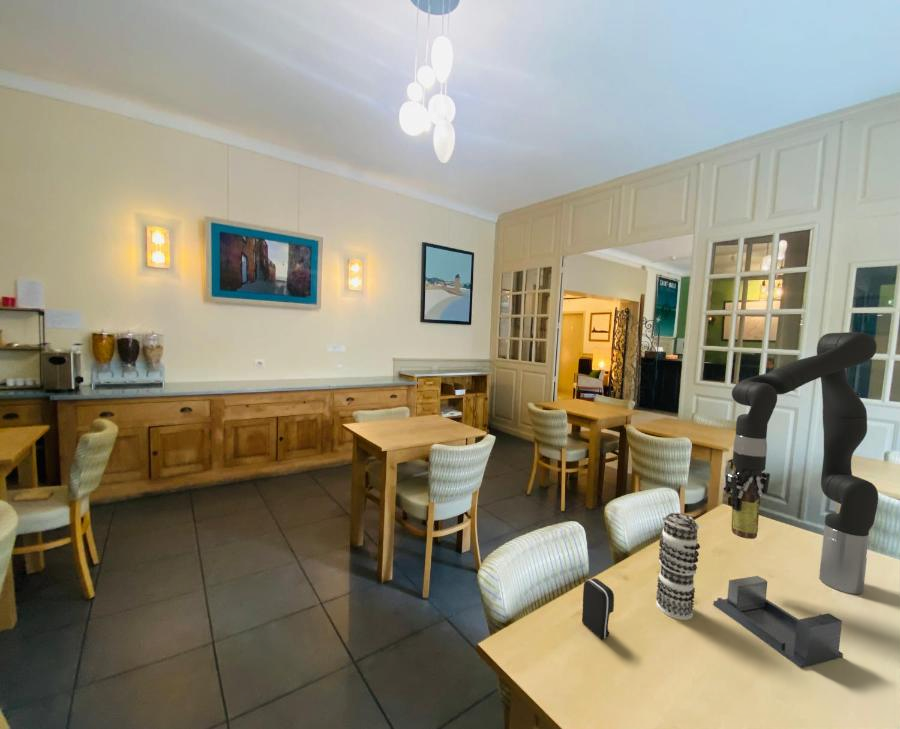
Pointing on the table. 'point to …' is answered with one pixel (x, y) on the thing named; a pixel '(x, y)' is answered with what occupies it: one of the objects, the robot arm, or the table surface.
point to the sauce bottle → (747, 512)
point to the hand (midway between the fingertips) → (745, 508)
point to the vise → (791, 632)
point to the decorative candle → (677, 566)
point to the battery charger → (597, 606)
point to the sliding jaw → (747, 593)
